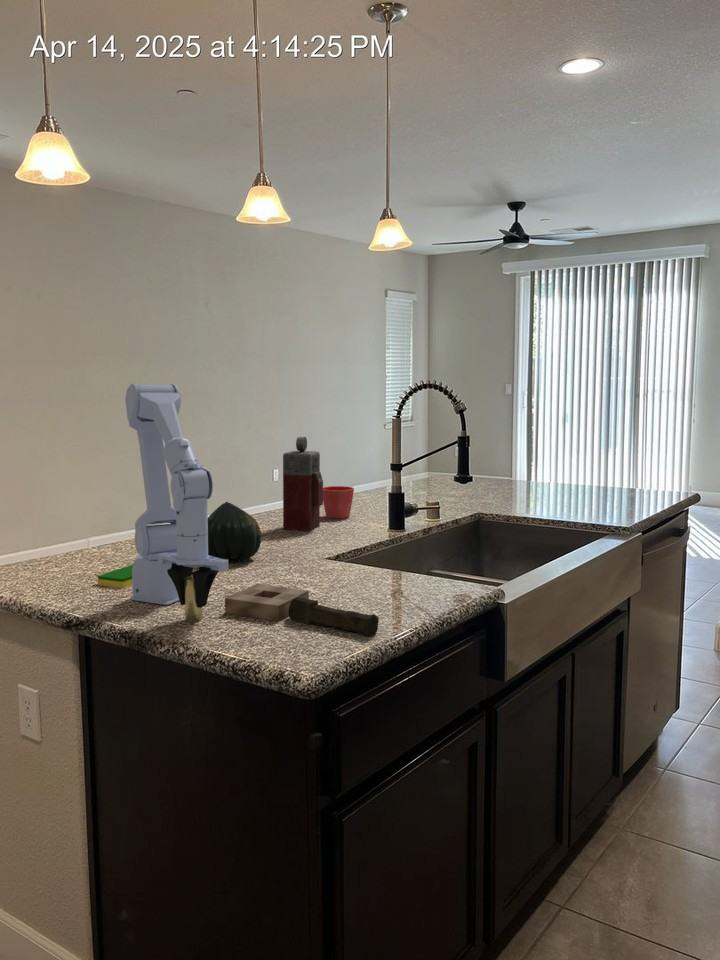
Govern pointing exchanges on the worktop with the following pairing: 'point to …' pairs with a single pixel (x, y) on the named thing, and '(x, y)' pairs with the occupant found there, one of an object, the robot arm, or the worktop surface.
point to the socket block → (263, 601)
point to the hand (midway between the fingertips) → (193, 605)
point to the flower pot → (337, 501)
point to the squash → (232, 533)
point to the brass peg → (191, 601)
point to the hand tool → (332, 616)
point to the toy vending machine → (302, 488)
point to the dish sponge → (117, 578)
